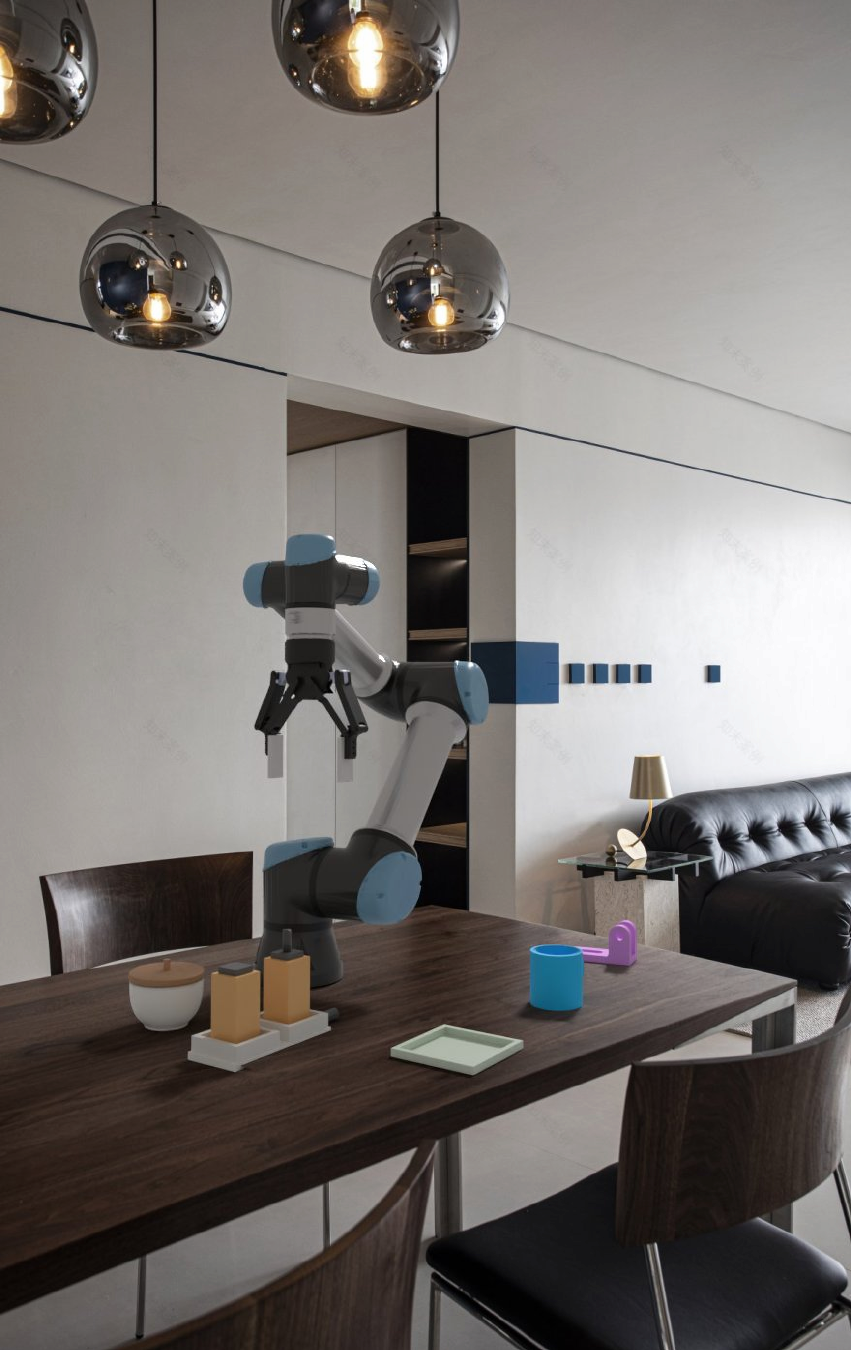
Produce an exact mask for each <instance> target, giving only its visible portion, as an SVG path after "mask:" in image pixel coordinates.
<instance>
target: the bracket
mask: <svg viewBox="0 0 851 1350" xmlns="http://www.w3.org/2000/svg"><path fill="white" fill-rule="evenodd" d="M574 947H578V948H580V949H582V950H583V961H584V962H587V963H588V962H589V963H597V964H607V965H615V966H616V965H618V966H628V967H630V966H631V965H632V964H634V962H636V961H637V959H638V930H637V927H636V924H635V923H633V922H632V921H630V920H628V919H626V920H625V919H624V920H621V921H620V922H618V923H617V924H616V925H614V926H613V927H612V928H610V929H609V932H608V948H599V947H589V946H588V947H587V946H578V945H577V946H575V945H574Z"/></svg>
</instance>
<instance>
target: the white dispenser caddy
mask: <svg viewBox="0 0 851 1350" xmlns="http://www.w3.org/2000/svg"><path fill="white" fill-rule="evenodd" d="M291 948H292V929H283V949H280V950H276V951H273V952H271V956H270V957H266V958H264V985H263V1011H260V1036H257V1037H255V1038H252V1039H249V1040H247V1041H244V1042H241V1043H239V1044H234V1043H230V1042H226V1041H222V1040H218V1039H214V1038H211V1028H209V1029H206V1030H204V1031H201V1032H198V1033H195V1034H192V1035H191V1036H190V1037H191V1038H190V1039H191V1041H190V1042H191V1045H190V1046H191V1048H190V1049H191V1050H190V1051H187V1060H188V1061H192V1062H195V1063H199V1064H203V1065H207V1066H211V1067H215V1068H219V1069H222V1070H225V1071H229V1072H232V1073H233V1072H234V1073H237V1072H239V1071H241V1070H244V1069H247V1066H243V1065H246V1064H248V1063H251V1062H254V1061H256V1060H259V1059H261V1058H264V1057H266V1056H268V1055H271V1054H274V1053H276V1052H278V1051H282V1050H284V1049H286V1048H288V1047H291V1046H293V1045H296V1044H299V1043H301V1042H305V1041H306V1040H310V1039H311V1038H312V1039H313V1038H315V1037H316V1036H319V1035H322V1034H324V1033H327V1032H329V1031H331V1030H332V1027H331V1026H329V1022H332V1021H333V1020H336V1019H338V1018H339V1015H340V1013H339V1009H337V1008H336V1007H331V1008H329V1009H326V1010H323V1011H320V1010H316V1009H315V1010H314V1009H311V987H310V956H306V955H303V951H302V950H296V949H291Z"/></svg>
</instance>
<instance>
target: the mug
mask: <svg viewBox="0 0 851 1350" xmlns="http://www.w3.org/2000/svg"><path fill="white" fill-rule="evenodd" d="M574 946H575V945H574ZM574 946H573V945H568V944H554V943H553V944H541V945H539V944H538V945H535V946H532V947H530V949H529V1004H530V1005H531V1006H532V1007H535V1008H536V1009H541V1010H546V1011H547V1010H548V1011H559V1012H560V1011H572V1010H577V1009H579V1008H582V1007H583V1005H584V1000H583V999H584V977H585V961H583V950H582V949H580V948H578V947H574Z"/></svg>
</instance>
